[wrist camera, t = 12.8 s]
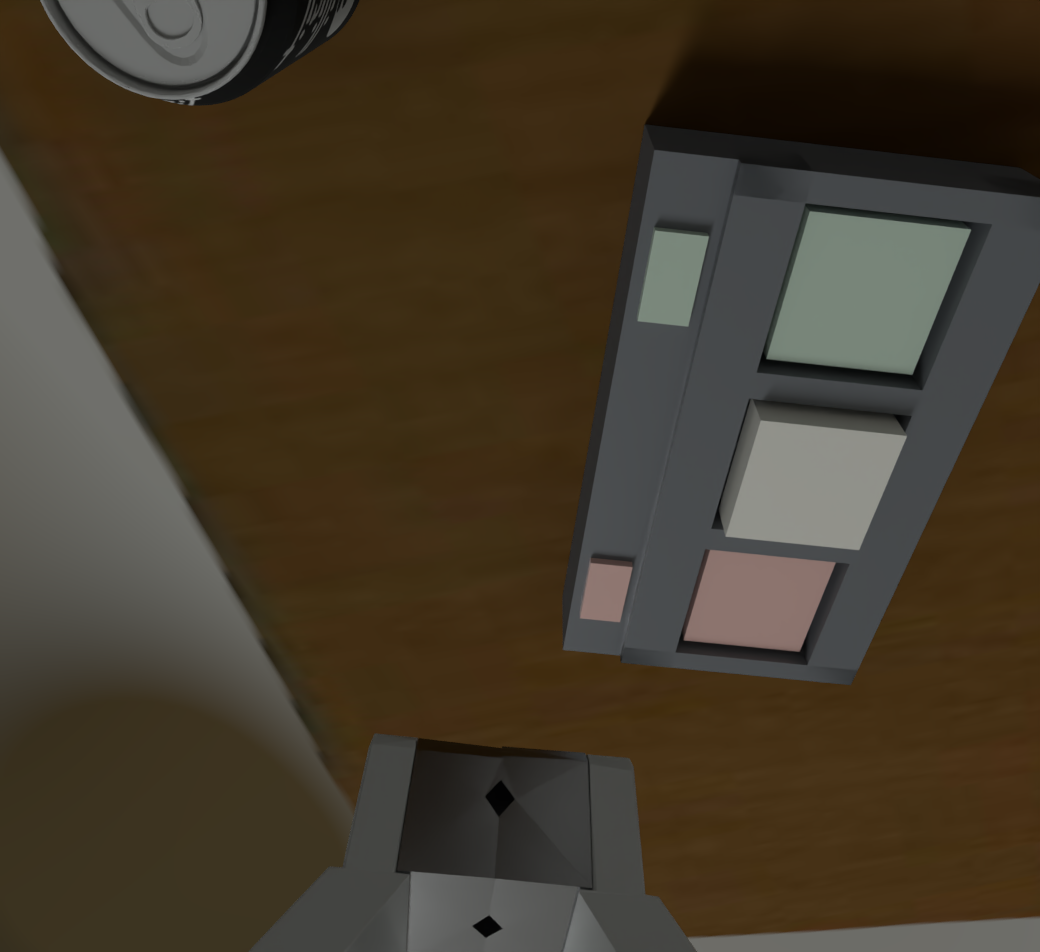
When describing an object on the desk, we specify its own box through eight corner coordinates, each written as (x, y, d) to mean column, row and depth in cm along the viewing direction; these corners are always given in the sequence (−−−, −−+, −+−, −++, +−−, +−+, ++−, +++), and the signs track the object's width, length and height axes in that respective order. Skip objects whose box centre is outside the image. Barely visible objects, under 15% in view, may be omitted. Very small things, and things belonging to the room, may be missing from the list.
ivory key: (751, 396, 36) (760, 420, 34) (891, 411, 36) (907, 435, 34) (718, 509, 39) (725, 536, 38) (846, 522, 40) (859, 550, 38)
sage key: (797, 195, 33) (809, 211, 31) (950, 212, 33) (971, 229, 31) (756, 337, 36) (766, 359, 34) (895, 352, 36) (912, 374, 35)
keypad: (644, 124, 33) (655, 153, 30) (1020, 167, 34) (1077, 201, 30) (562, 596, 47) (562, 656, 44) (827, 623, 48) (850, 684, 44)
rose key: (704, 523, 42) (710, 549, 40) (824, 536, 42) (835, 562, 40) (678, 612, 45) (683, 640, 43) (790, 624, 45) (799, 651, 44)
